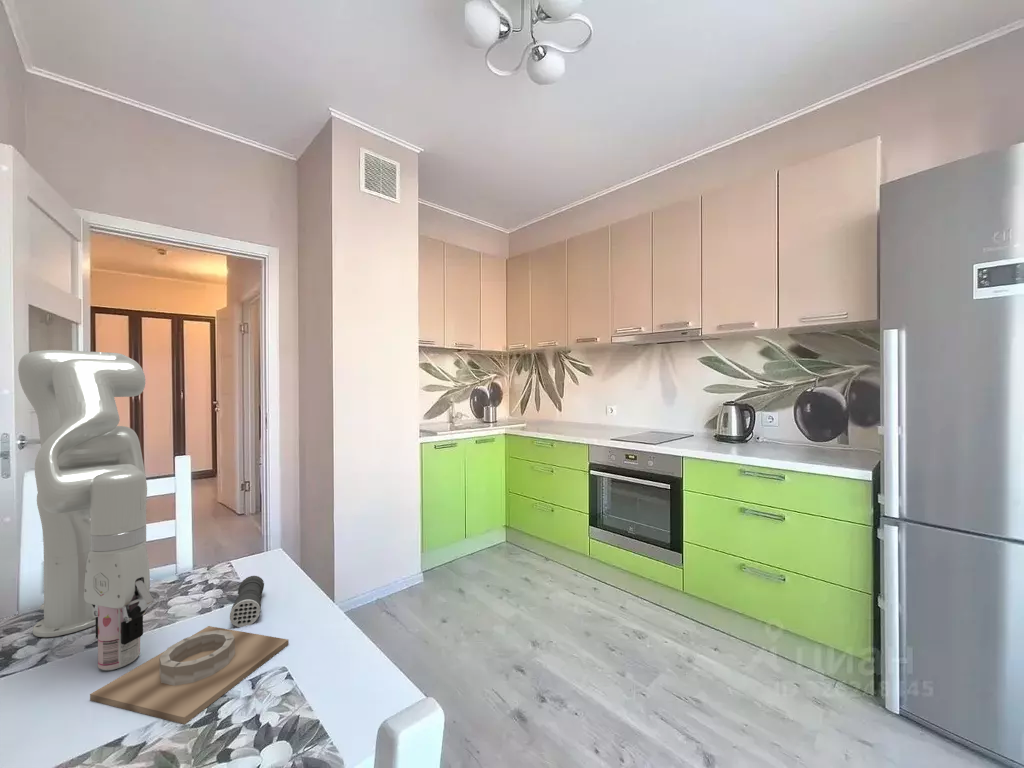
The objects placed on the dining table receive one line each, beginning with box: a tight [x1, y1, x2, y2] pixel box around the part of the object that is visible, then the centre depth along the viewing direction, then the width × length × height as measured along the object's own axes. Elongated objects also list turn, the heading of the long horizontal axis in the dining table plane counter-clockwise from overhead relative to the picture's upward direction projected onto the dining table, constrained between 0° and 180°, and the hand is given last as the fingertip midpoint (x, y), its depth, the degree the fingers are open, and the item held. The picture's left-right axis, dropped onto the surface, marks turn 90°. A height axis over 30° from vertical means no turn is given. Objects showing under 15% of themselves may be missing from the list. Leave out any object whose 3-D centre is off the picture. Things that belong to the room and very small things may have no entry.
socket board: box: [89, 625, 290, 725], centre depth 75 cm, size 20×20×4 cm
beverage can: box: [97, 591, 141, 671], centre depth 78 cm, size 6×6×15 cm
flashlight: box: [229, 575, 265, 628], centre depth 96 cm, size 15×5×5 cm, turn 27°
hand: (119, 636), depth 78 cm, fingers closed on beverage can, 5 cm apart
